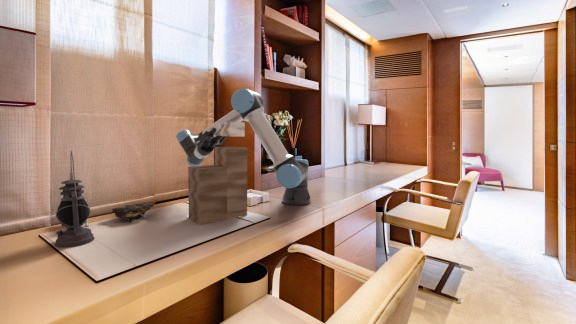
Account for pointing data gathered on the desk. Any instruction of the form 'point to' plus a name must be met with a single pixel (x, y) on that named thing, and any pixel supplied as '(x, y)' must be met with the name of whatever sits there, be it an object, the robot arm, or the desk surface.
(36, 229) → the desk surface
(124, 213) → the fossil rock
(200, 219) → the stand
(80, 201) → the lantern
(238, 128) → the pale wooden block
